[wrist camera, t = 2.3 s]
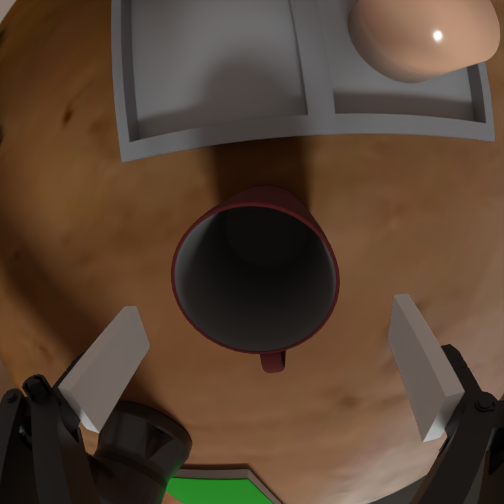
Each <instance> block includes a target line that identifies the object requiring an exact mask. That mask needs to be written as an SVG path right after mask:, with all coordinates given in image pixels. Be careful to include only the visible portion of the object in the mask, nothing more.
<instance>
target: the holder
mask: <svg viewBox="0 0 504 504" xmlns="http://www.w3.org/2000/svg"><path fill="white" fill-rule="evenodd" d="M355 2H356V0H112V4H111V50H112V73H113V88H114V100H115V111H116V120H117V129H118V137H119V145H120V152H121V159H122V162H127V161H132V160H137V159H142V158H147V157H151V156H156V155H161V154H166V153H172V152H177V151H183V150H188V149H194V148H201V147H207V146H214V145H221V144H228V143H235V142H244V141H252V140H262V139H272V138H283V137H296V136H311V135H332V134H409V135H429V136H444V137H455V138H466V139H475V140H484V141H494V142H495V135H494V121H493V111H492V102H491V94H490V87H489V81H488V75H487V70H486V65H485V61H483V62H480V63H477V64H474V65H471V66H467V67H464V68H461V69H458V70H455V71H452V72H449V73H446V74H443V75H440V76H437V77H434V78H432V79H429V80H426V81H423V82H420V83H403V82H398V81H395V80H392V79H390V78H387V77H385V76H384V75H382V74H380V73H379V72H377V71H376V70H374V69H373V68H372V67H370V66H369V65H368V64H367V63H366V62H365V61H364V60H363V58H362V57H361V56H360V55H359V53H358V52H357V51H356V49H355V47H354V45H353V43H352V41H351V39H350V35H349V31H348V18H349V14H350V11H351V9H352V7H353V6H354V4H355Z"/></svg>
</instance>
